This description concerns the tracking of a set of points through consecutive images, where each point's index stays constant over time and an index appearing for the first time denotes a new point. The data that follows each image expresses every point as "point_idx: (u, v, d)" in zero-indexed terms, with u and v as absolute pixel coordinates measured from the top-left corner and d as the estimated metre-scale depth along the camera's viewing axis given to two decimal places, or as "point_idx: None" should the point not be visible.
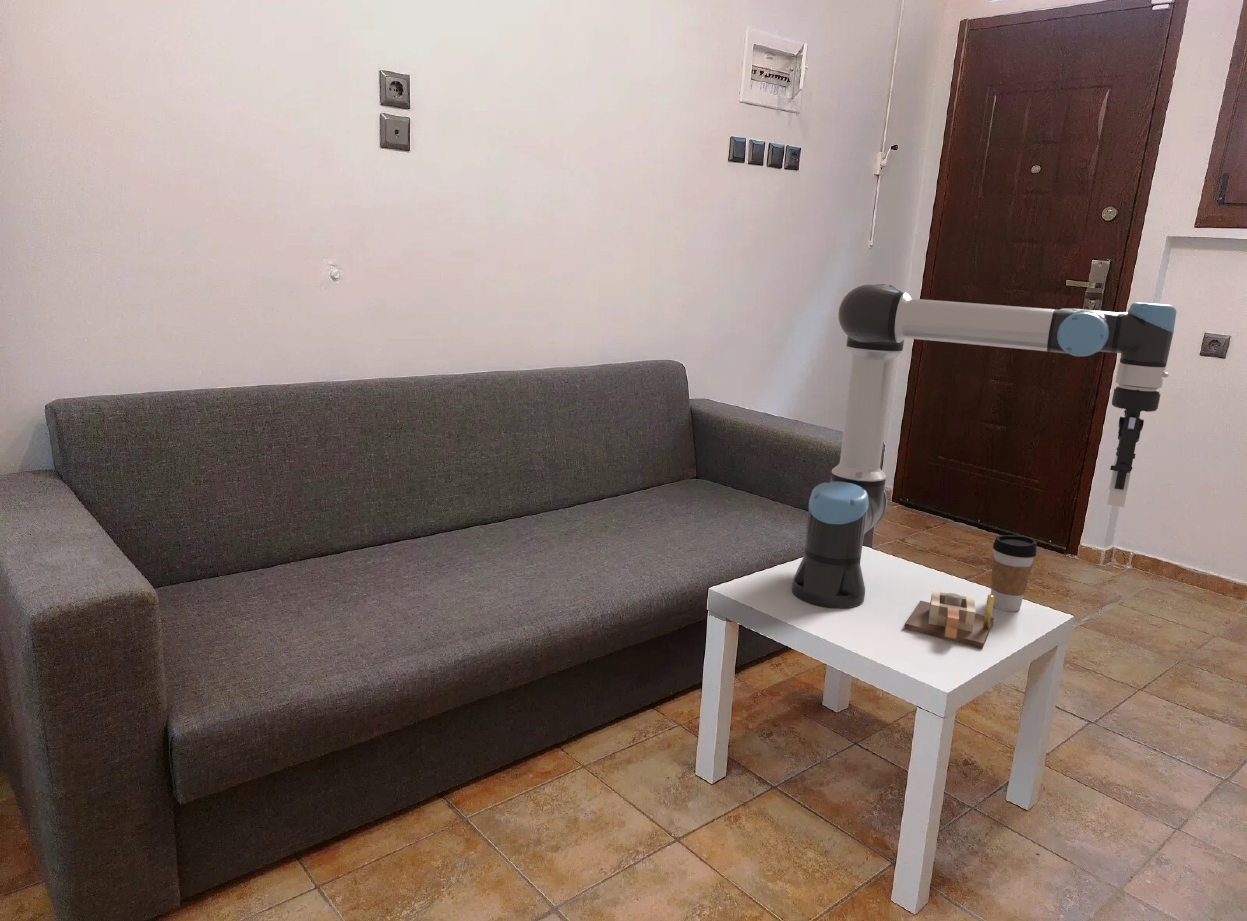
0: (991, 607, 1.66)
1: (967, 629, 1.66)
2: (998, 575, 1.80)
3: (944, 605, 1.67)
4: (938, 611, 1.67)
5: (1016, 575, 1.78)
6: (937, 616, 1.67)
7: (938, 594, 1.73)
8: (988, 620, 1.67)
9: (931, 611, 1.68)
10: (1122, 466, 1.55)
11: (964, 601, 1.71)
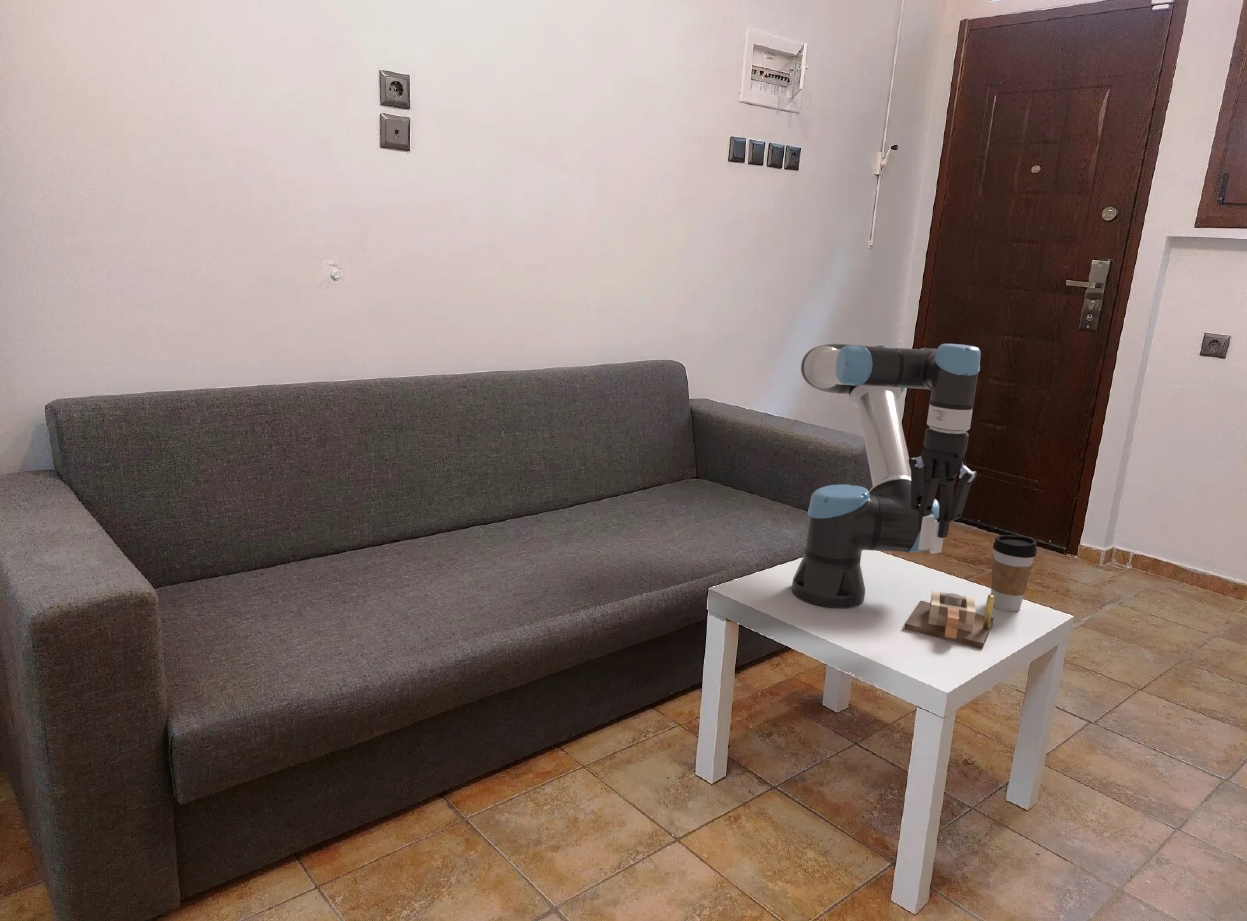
0: (991, 607, 1.66)
1: (967, 629, 1.66)
2: (998, 575, 1.80)
3: (944, 605, 1.67)
4: (938, 611, 1.67)
5: (1016, 575, 1.78)
6: (937, 616, 1.67)
7: (938, 594, 1.73)
8: (988, 620, 1.67)
9: (931, 611, 1.68)
10: None
11: (964, 601, 1.71)
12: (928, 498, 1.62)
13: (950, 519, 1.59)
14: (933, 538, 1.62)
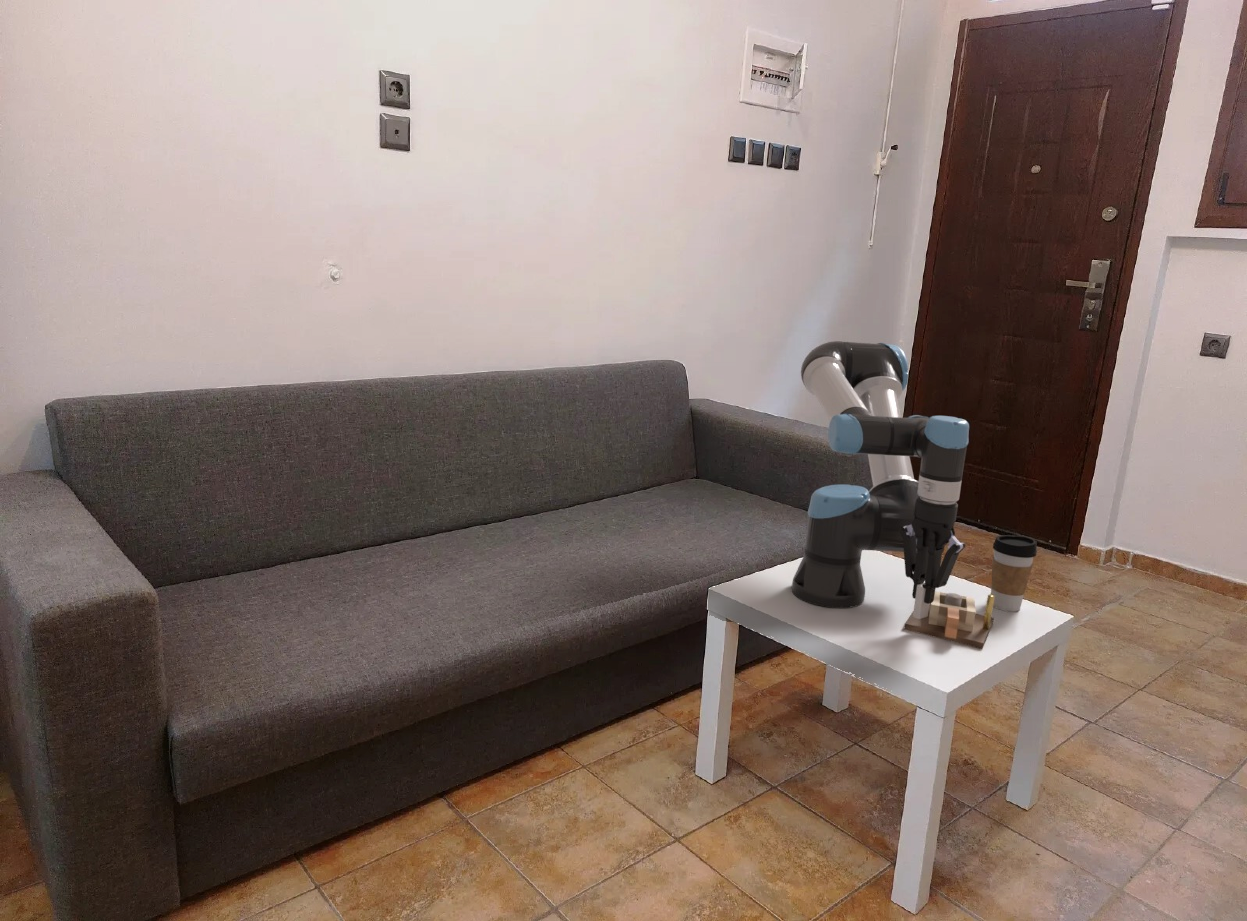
0: (991, 607, 1.66)
1: (967, 629, 1.66)
2: (998, 575, 1.80)
3: (944, 605, 1.67)
4: (938, 611, 1.67)
5: (1016, 575, 1.78)
6: (937, 616, 1.67)
7: (938, 594, 1.73)
8: (988, 620, 1.67)
9: (931, 611, 1.68)
10: None
11: (964, 601, 1.71)
12: (921, 566, 1.65)
13: (936, 586, 1.62)
14: (919, 603, 1.65)
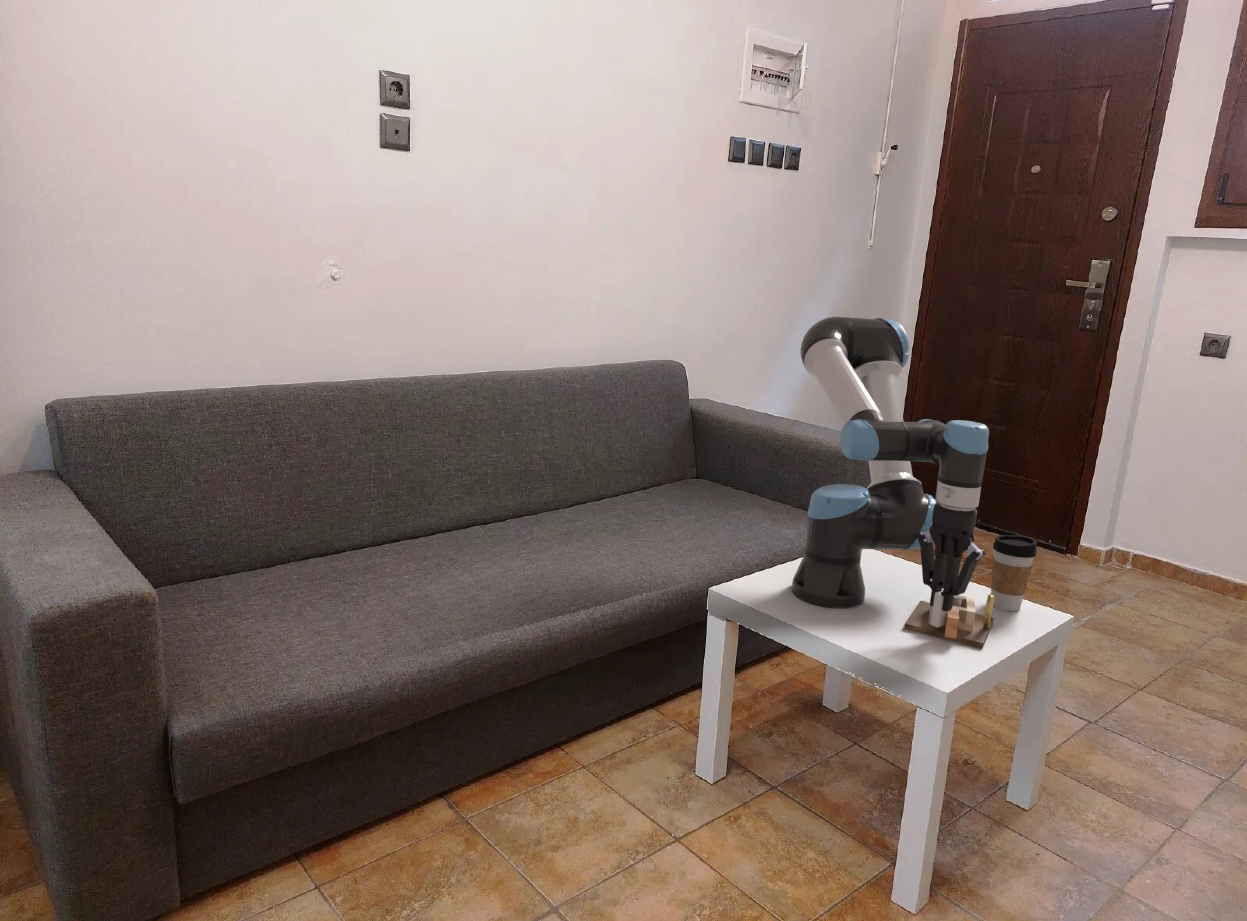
0: (991, 607, 1.66)
1: (967, 629, 1.66)
2: (998, 575, 1.80)
3: None
4: None
5: (1016, 575, 1.78)
6: None
7: None
8: (988, 620, 1.67)
9: (931, 611, 1.68)
10: None
11: (964, 601, 1.71)
12: (939, 573, 1.62)
13: (954, 594, 1.59)
14: (937, 611, 1.62)
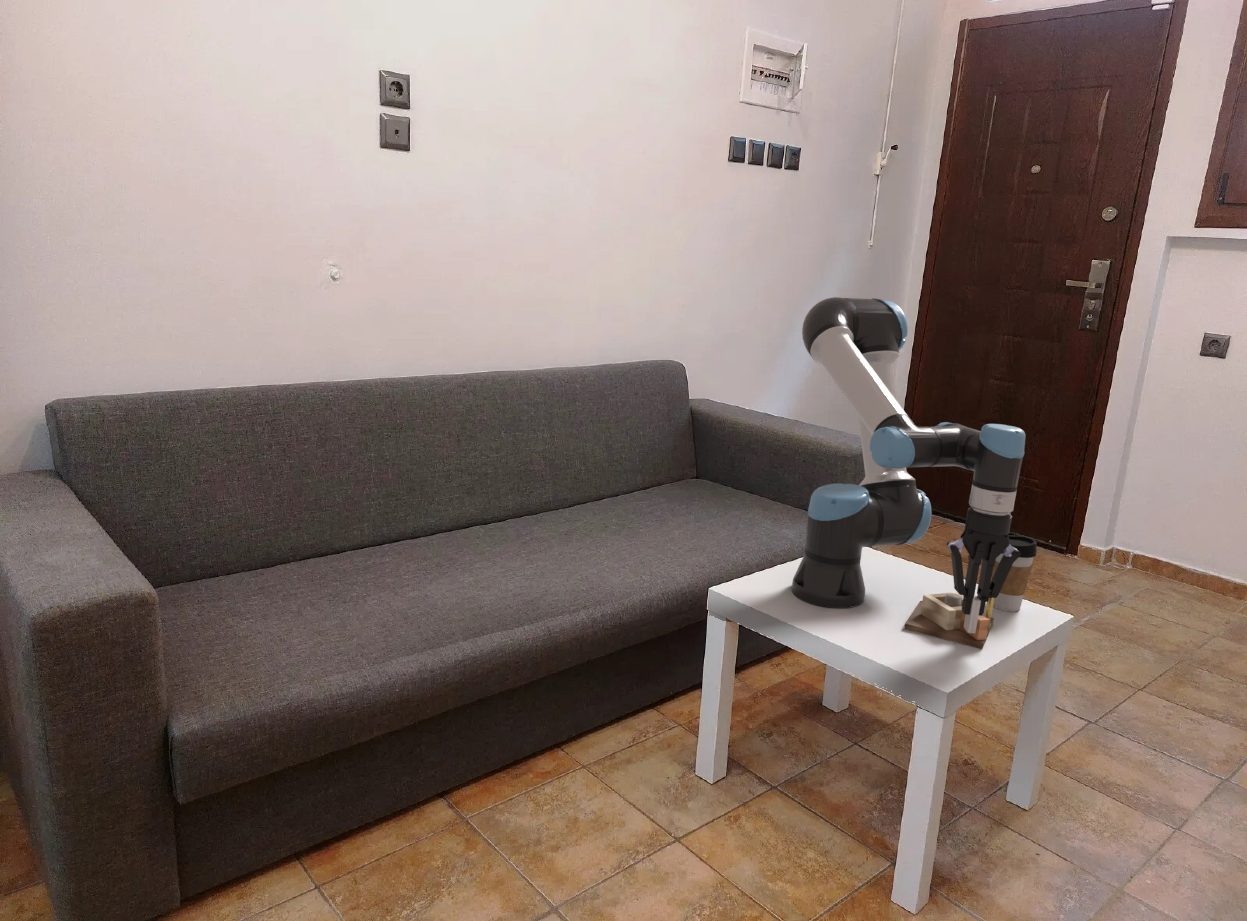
0: (991, 607, 1.66)
1: None
2: None
3: (957, 608, 1.66)
4: (955, 615, 1.65)
5: (1016, 575, 1.78)
6: (954, 620, 1.66)
7: (933, 597, 1.71)
8: None
9: (949, 617, 1.65)
10: (956, 590, 1.61)
11: None
12: None
13: (994, 596, 1.59)
14: (975, 618, 1.60)
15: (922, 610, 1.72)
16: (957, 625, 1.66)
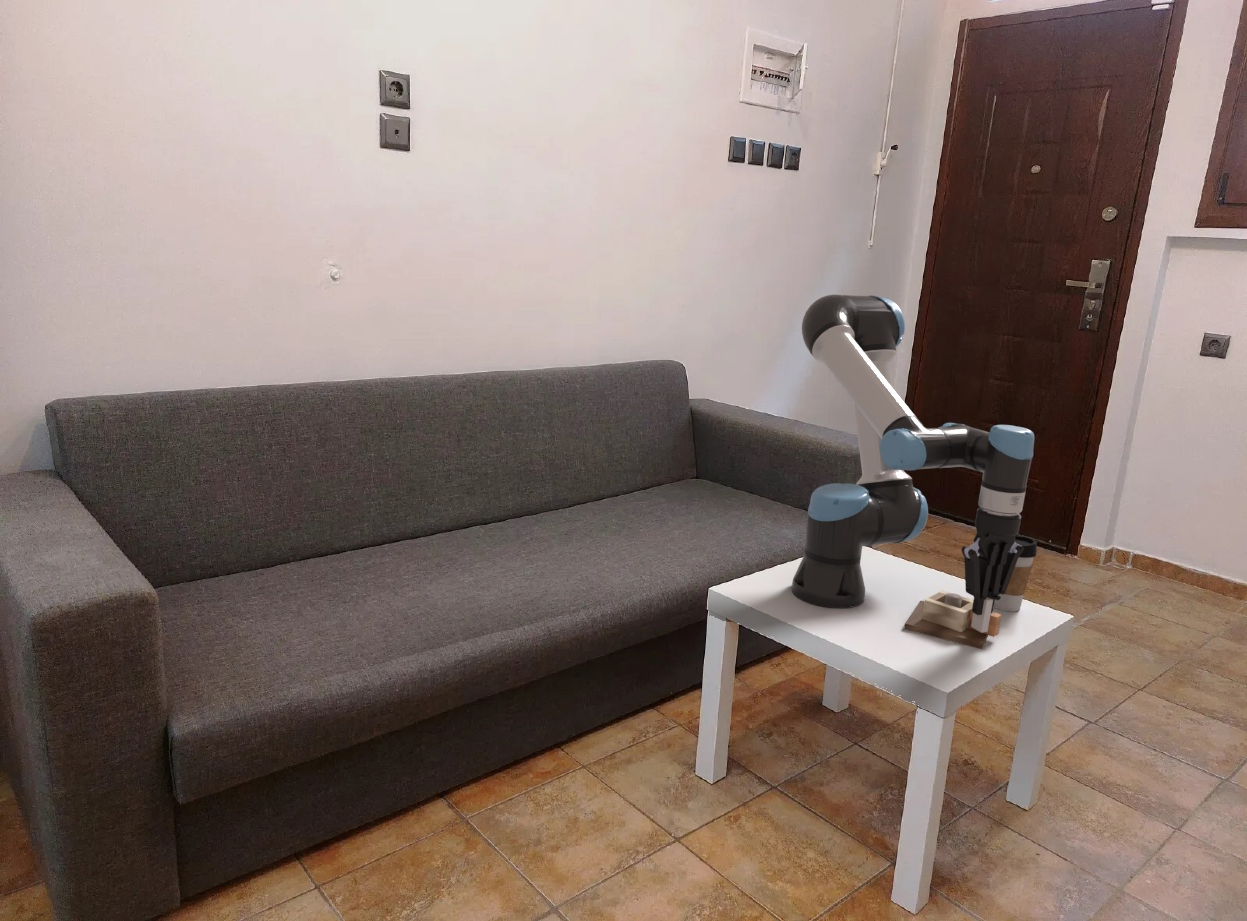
0: None
1: None
2: None
3: (965, 608, 1.66)
4: (966, 616, 1.65)
5: (1016, 575, 1.78)
6: (966, 621, 1.66)
7: (935, 600, 1.69)
8: None
9: (963, 619, 1.65)
10: (969, 593, 1.61)
11: None
12: None
13: (1003, 593, 1.62)
14: (988, 617, 1.62)
15: (924, 615, 1.70)
16: (967, 625, 1.67)
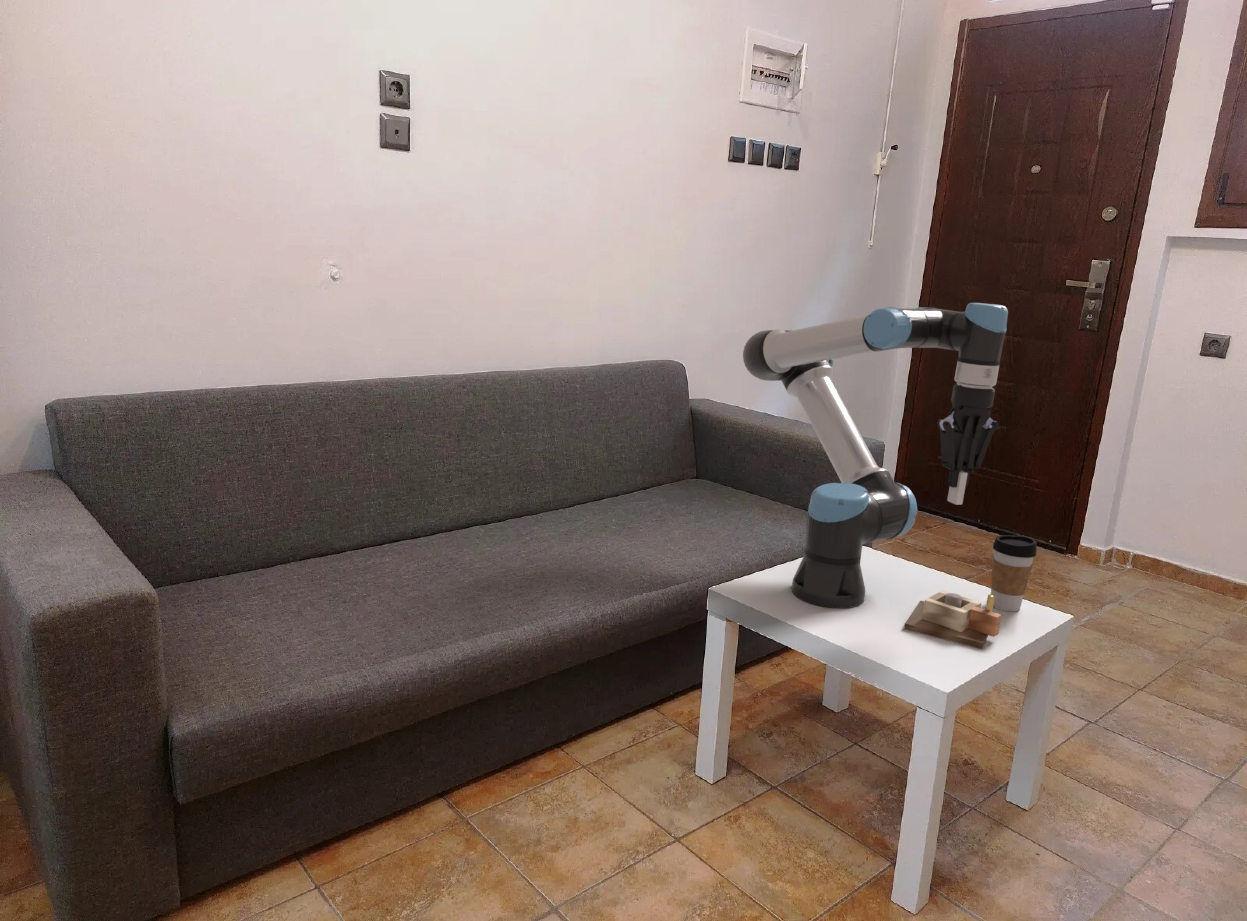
0: (991, 607, 1.66)
1: None
2: (998, 575, 1.80)
3: (965, 608, 1.66)
4: (966, 616, 1.65)
5: (1016, 575, 1.78)
6: (966, 621, 1.66)
7: (935, 600, 1.69)
8: None
9: (963, 619, 1.65)
10: (945, 465, 1.69)
11: None
12: None
13: (978, 467, 1.69)
14: (963, 489, 1.70)
15: (924, 615, 1.70)
16: (967, 625, 1.67)
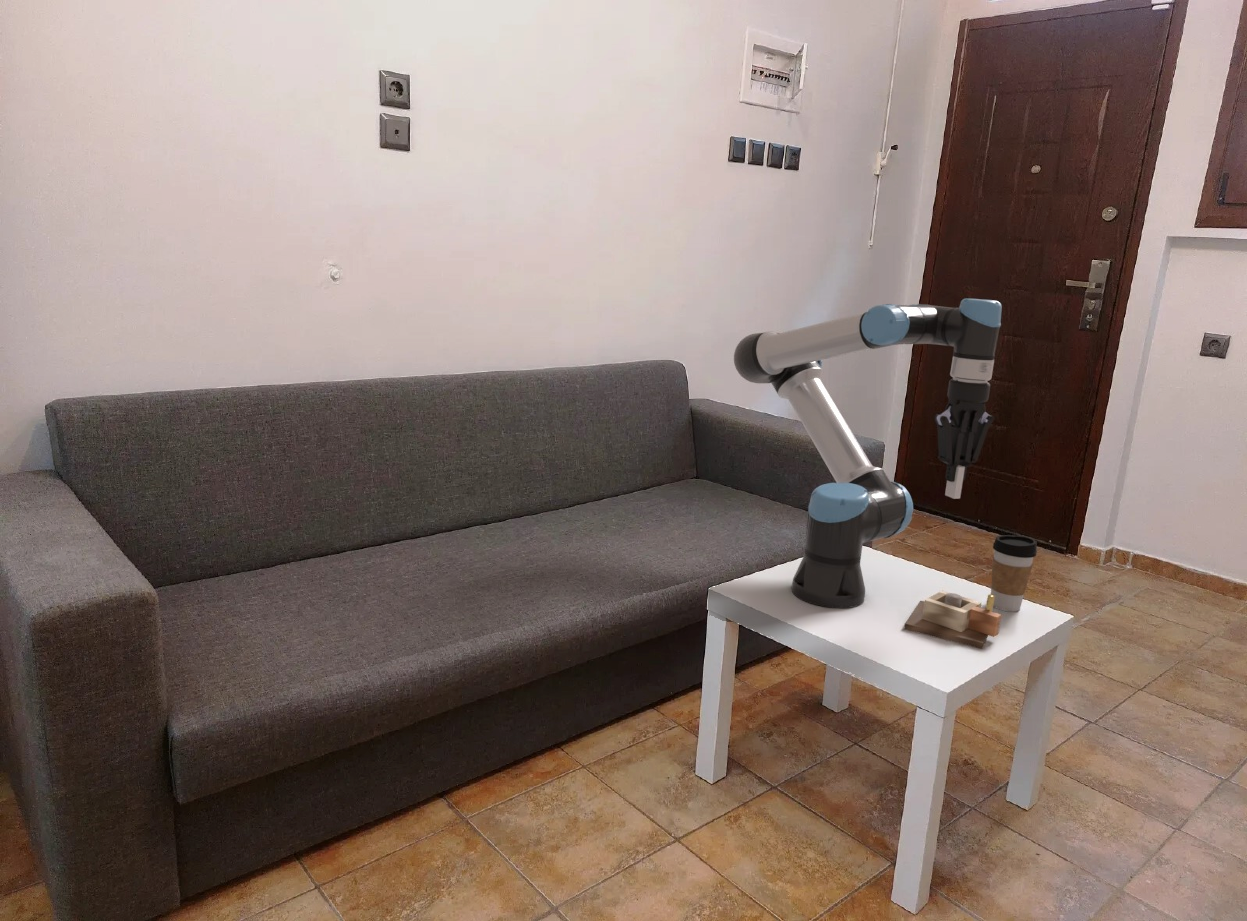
0: (991, 607, 1.66)
1: None
2: (998, 575, 1.80)
3: (965, 608, 1.66)
4: (966, 616, 1.65)
5: (1016, 575, 1.78)
6: (966, 621, 1.66)
7: (935, 600, 1.69)
8: None
9: (963, 619, 1.65)
10: (942, 460, 1.70)
11: None
12: None
13: (974, 461, 1.71)
14: (960, 483, 1.71)
15: (924, 615, 1.70)
16: (967, 625, 1.67)
